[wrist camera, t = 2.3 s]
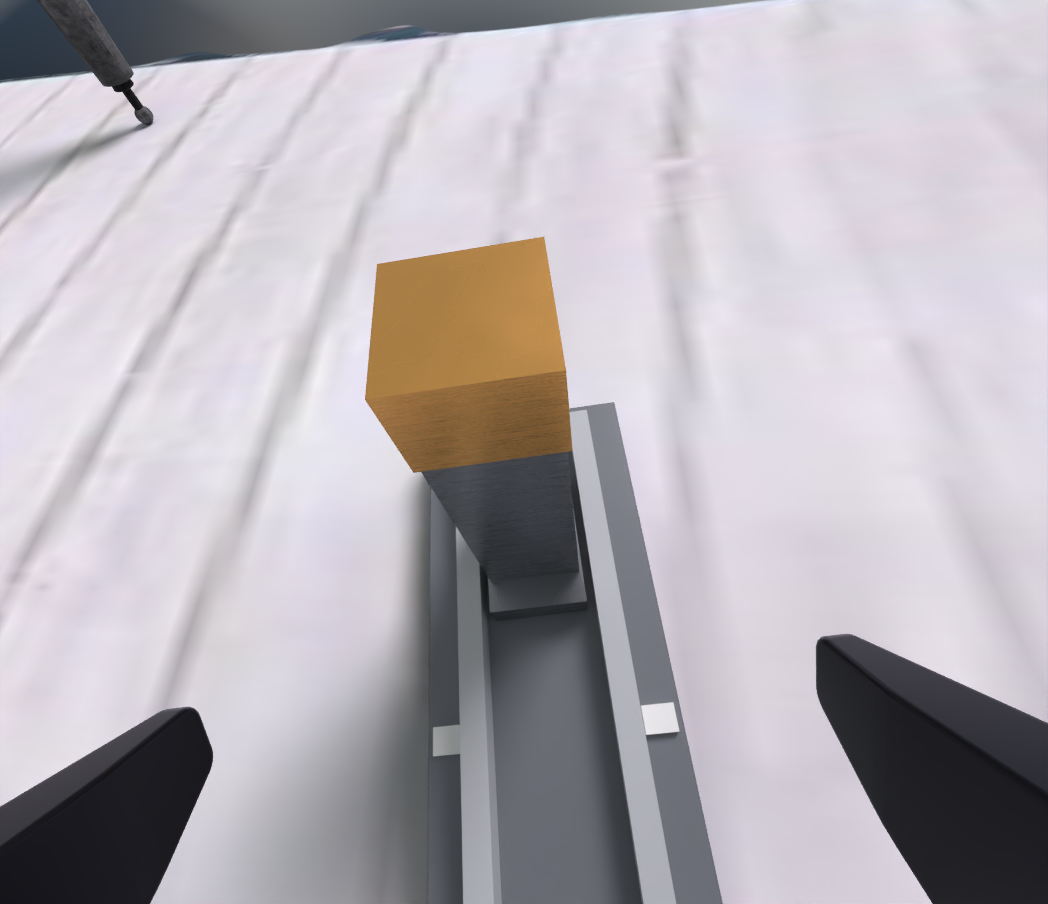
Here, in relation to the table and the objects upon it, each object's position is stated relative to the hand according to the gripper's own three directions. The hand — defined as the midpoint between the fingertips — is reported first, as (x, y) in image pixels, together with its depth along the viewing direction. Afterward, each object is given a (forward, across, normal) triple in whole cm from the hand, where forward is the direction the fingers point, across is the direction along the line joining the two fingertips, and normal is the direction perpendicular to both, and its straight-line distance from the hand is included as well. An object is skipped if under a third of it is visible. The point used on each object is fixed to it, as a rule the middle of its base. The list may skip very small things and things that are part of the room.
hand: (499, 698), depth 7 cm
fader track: (+11, 0, +7) cm, 13 cm away
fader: (+11, 0, +3) cm, 12 cm away
